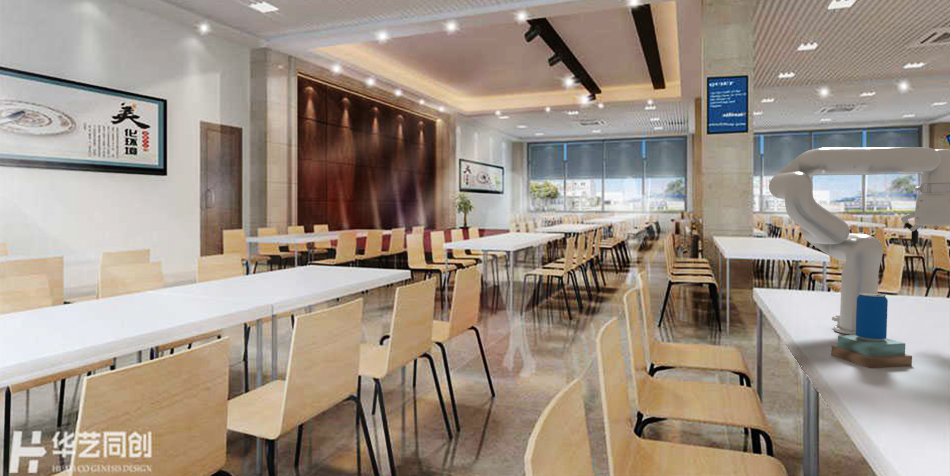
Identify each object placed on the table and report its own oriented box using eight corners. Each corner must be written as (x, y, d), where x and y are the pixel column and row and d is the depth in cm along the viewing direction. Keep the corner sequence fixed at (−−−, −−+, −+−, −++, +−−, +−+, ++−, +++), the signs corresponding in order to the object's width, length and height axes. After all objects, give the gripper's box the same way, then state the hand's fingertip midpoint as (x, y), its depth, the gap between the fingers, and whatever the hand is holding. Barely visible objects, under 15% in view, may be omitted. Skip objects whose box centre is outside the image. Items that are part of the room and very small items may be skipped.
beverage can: (891, 342, 135) (893, 296, 134) (863, 341, 136) (864, 295, 136) (877, 336, 141) (879, 292, 141) (850, 335, 143) (852, 291, 142)
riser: (831, 354, 144) (831, 335, 144) (869, 352, 146) (870, 333, 145) (870, 368, 132) (871, 346, 132) (911, 365, 134) (912, 344, 134)
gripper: (899, 190, 168) (898, 244, 169) (973, 188, 155) (972, 246, 156) (904, 190, 173) (903, 242, 174) (976, 188, 160) (974, 244, 161)
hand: (935, 244), depth 165 cm, fingers open, 9 cm apart
